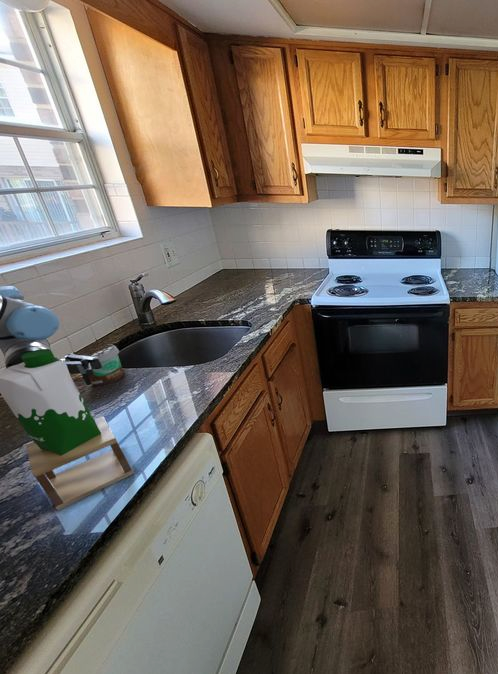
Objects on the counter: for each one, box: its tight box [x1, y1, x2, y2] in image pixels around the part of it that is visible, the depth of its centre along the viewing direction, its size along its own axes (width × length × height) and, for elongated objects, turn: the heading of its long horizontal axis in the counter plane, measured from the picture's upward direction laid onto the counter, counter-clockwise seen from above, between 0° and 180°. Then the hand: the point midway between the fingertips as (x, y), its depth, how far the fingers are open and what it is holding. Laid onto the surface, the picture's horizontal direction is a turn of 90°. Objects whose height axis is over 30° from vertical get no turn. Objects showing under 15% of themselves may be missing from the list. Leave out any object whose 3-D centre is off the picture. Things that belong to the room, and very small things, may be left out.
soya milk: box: [0, 348, 101, 456], centre depth 73 cm, size 9×9×20 cm
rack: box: [25, 415, 135, 511], centre depth 79 cm, size 12×12×10 cm
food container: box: [88, 343, 125, 387], centre depth 119 cm, size 12×6×10 cm, turn 0°
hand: (40, 394), depth 71 cm, fingers open, 13 cm apart
